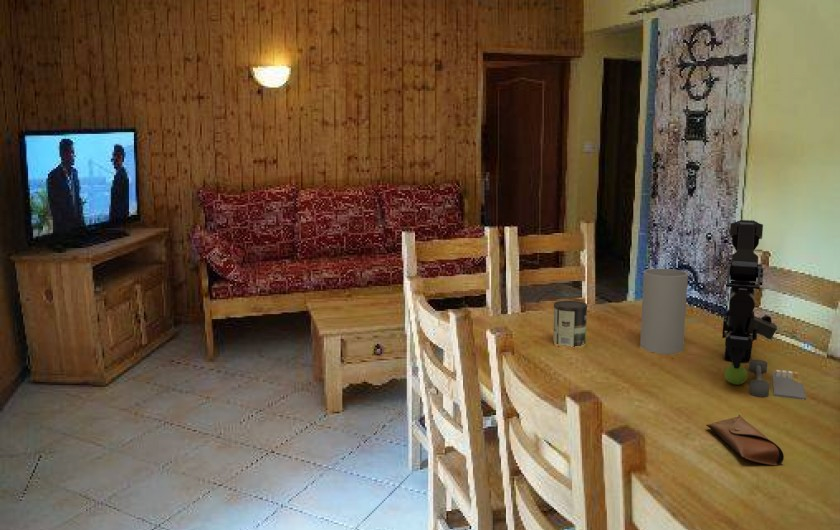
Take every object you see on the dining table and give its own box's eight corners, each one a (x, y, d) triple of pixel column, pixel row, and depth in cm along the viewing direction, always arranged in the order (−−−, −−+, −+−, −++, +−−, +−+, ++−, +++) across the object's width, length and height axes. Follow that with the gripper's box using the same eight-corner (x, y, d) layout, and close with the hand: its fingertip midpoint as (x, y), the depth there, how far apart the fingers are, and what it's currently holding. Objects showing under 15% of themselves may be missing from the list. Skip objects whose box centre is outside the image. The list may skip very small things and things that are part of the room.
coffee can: (582, 342, 225) (583, 300, 222) (589, 352, 215) (590, 307, 212) (550, 342, 225) (551, 300, 223) (555, 352, 215) (556, 307, 212)
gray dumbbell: (748, 399, 175) (750, 384, 175) (748, 372, 195) (749, 358, 195) (768, 402, 173) (769, 386, 173) (766, 374, 193) (767, 360, 193)
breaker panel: (773, 399, 175) (774, 388, 174) (771, 377, 191) (772, 367, 190) (805, 403, 172) (806, 392, 171) (800, 380, 188) (801, 370, 188)
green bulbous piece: (745, 379, 186) (748, 336, 183) (747, 389, 180) (751, 345, 177) (723, 377, 188) (726, 335, 185) (724, 387, 182) (728, 343, 179)
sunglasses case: (702, 422, 157) (723, 400, 156) (724, 441, 158) (744, 419, 157) (743, 458, 139) (766, 434, 138) (767, 479, 140) (790, 455, 139)
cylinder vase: (676, 346, 220) (681, 268, 215) (687, 359, 207) (693, 276, 203) (636, 346, 221) (640, 268, 216) (644, 358, 209) (648, 276, 204)
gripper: (777, 318, 168) (772, 380, 171) (774, 302, 185) (770, 358, 187) (727, 314, 173) (722, 374, 175) (728, 298, 189) (724, 353, 192)
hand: (736, 365), depth 182 cm, fingers closed on green bulbous piece, 5 cm apart
